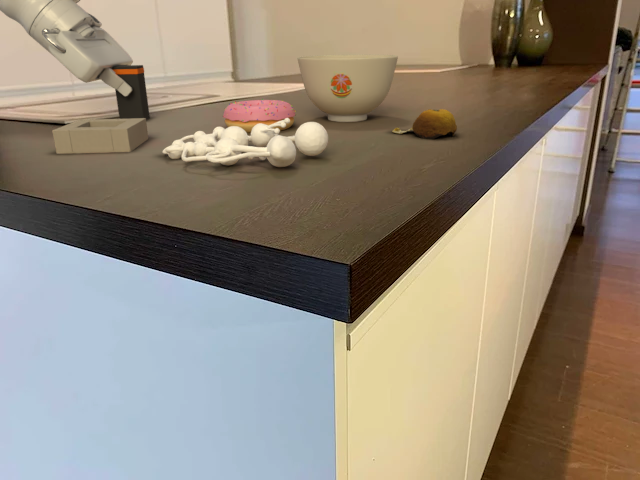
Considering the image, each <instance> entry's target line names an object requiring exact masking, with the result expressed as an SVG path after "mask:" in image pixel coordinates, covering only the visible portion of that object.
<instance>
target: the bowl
mask: <svg viewBox="0 0 640 480" xmlns="http://www.w3.org/2000/svg"><path fill="white" fill-rule="evenodd" d="M398 59H399V56H398V55H394V54H331V55H330V54H328V55H327V54H326V55H306V56H305V55H304V56H298V57H297V63H298V68H299V71H300V76H301V79H302V83H303V87H304V90H305V93H306V95H307V97H308V99H309V100H310V102H312V104H313V105H314V106H315V107H316V108H317V109H319V110H320V111H322V112H323V113H325V114H327V120H328V121H329V122H335V123H337V122H338V123H356V122H363V121H366V120H368V114H369V113H370V112H372V111H374V110H376V109H377V108H378V107H379V106H380V105H381V104H382V103H383V102H384V101H385V100H386V98H387V96H388V94H389V92H390V89H391V86H392V83H393V80H394V75H395V71H396V67H397V64H398Z"/></svg>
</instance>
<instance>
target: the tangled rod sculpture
mask: <svg viewBox="0 0 640 480" xmlns="http://www.w3.org/2000/svg"><path fill="white" fill-rule="evenodd" d="M289 122H290V119H289V118H285V120H282V121H279V122H276V123H274V124H271V125H269V126H268V125H266V124H262V123H259V124H257V125H255V126H254V127H253V128H252V131H251V133H250V135H248V133H246V131H245V130H243V129H242V128H240V127H238V126H230V127H226V128H225V127H222V126H216V127H215V128H213V130H212V133H205V131H203V130H198V131H195V133H194V134H189V135H185V136H183V137H182V138H180V139H175V140H173V142H172V143H171V145H168V146H167V147H165V148H164V149H162V151H161V152H162V154H163V155H168V157H169V158H170V159H172V160H179V159H181V160H182V161H183V162H186V163H189V162H199V161H208V162H211V163H213V164H220V165H223V166H227V167H228V166H233V165H235V164H237V163H238V162H239V160H242V159H246V158H247V159H248V160H254V158H259V160H260V161H265V160H266V159H267V161H268V162H269V163H270V164H271V165H272V166H274V167H276V168H284V167H288V166H290V165H291V164H292V165H293V163H294V162H295V160H296V158H297V157H296V156H297V150H298V151H299V152H300V153H302V154H303V155H305V156H309V157H314V156H315V157H316V156H318V155H320V154H322V153H323V152H324V151H325V150H326V149H327V146H328V143H329V134H328V131H327V130H326V128H325V127H324V126H323V125H322V124H321V123H319V122H316V121H307V122H304V123H302V124H301V125H299V127H298V128H297V129H296V131H295V134H294V135H291V136H284V135H282V134H280V132H281V131H280V130H279V129H278V128H276V129H273V127H277V126H281V127H282V128H284V127H286V123H287V124H288V123H289ZM190 139H193V141H187V140H190ZM186 141H187V142H186ZM249 143H252V145H253V146H251V145H249Z"/></svg>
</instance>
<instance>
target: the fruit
mask: <svg viewBox="0 0 640 480" xmlns="http://www.w3.org/2000/svg"><path fill="white" fill-rule="evenodd" d="M457 130H458V126H457V123H456V119H455V116H454V115H453V114H452V112H451V111H450V110H447V109H445V108H440V109H432V108H430V109H426V110H423V111H422V112H421V113H420V114H419V115H418V116H417V117H416V119H415V120H414V121H413V123H412V127H410V128H409V129H407V130H402V129H400V127H395V128H393V130H391V131H392V133H395V134H400V135H401V134H405V133H408V132H410V131H412V132H413V133H414V134H415V135H416V136H417V137H419V138H420V139H423V140H435V139H436V138H438V137H440V136H445V135H452V136H455V134H456V132H457Z"/></svg>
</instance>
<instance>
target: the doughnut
mask: <svg viewBox="0 0 640 480" xmlns="http://www.w3.org/2000/svg"><path fill="white" fill-rule="evenodd" d="M225 107H226V108H224V111H223V115H222V118H223V119H224V124H225V125H226V128H228V127H230V126H238V127H240V128H242V129H243V130H245V131H246V133H247V134H251V131H252V128H253V127H254V126H255V125H257V124H259V123H262V124H266V125H268V126H269V125H271V124H274V123H276V122H279V121H282V120H285V118H289V119H290V122H289V123H288V124H287V123H286V127H284V128H282V127H281V126H277V127H273V129H276V128H278V129H279V130H280V132H281V131H285V130H287V129H290V128H291V127H292V126H293V124H294V123H295V116H297V114H296V112H297V110H295V108H294V106H293V105H292V104H291V103H289V102H287V101H284V100H283V99H281V100H279V99H278V100H277V99H264V98H261V99H252V100H240V101H236V100H235V101H233V102H231V103H229V104H228V105H227V106H225Z"/></svg>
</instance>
